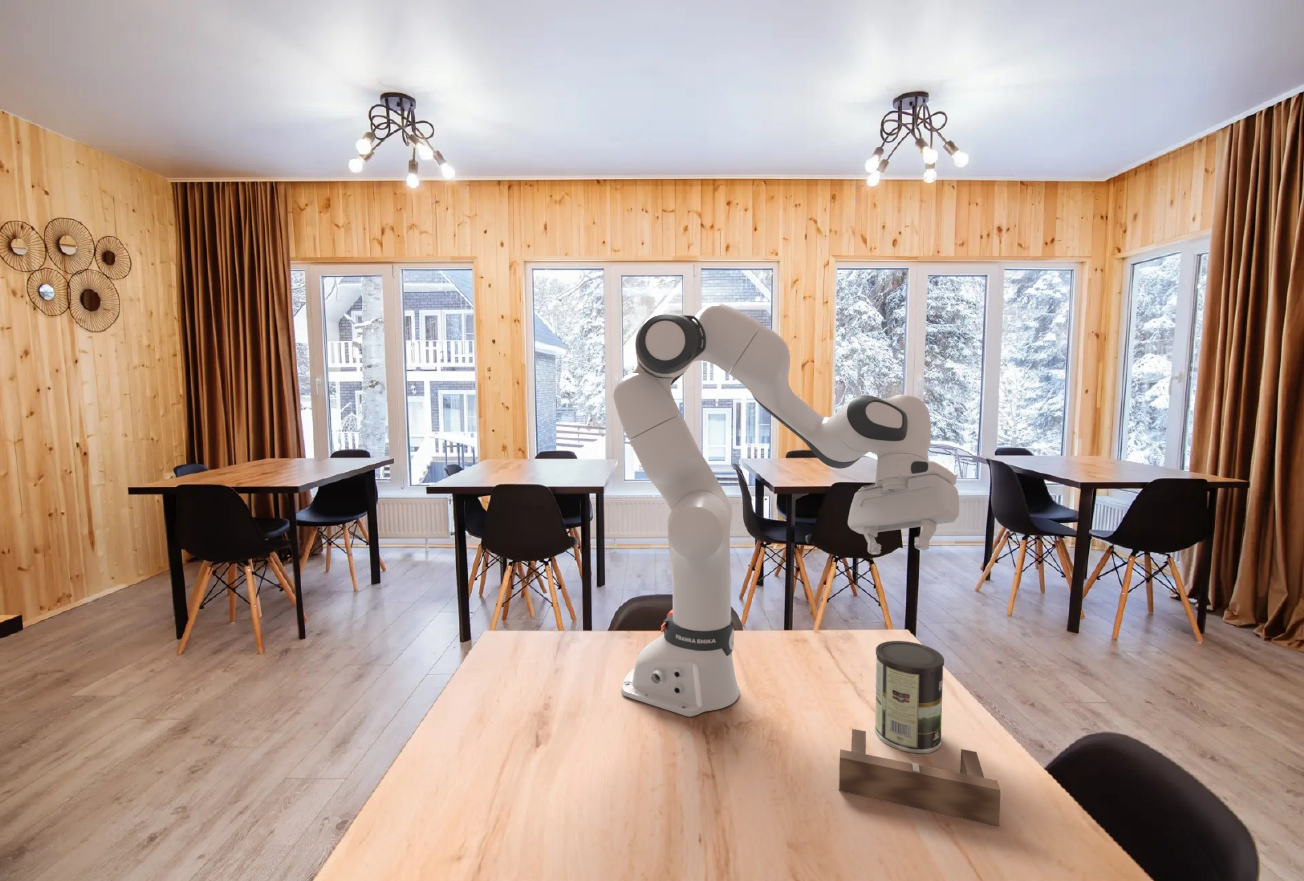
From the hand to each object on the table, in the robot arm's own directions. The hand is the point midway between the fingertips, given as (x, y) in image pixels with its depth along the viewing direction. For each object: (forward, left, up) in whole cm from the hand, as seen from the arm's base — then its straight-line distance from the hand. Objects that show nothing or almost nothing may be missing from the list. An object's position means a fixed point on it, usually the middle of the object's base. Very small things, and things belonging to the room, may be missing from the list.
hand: (896, 551), depth 98 cm
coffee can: (+2, -5, -30) cm, 30 cm away
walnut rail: (+2, -19, -30) cm, 35 cm away
